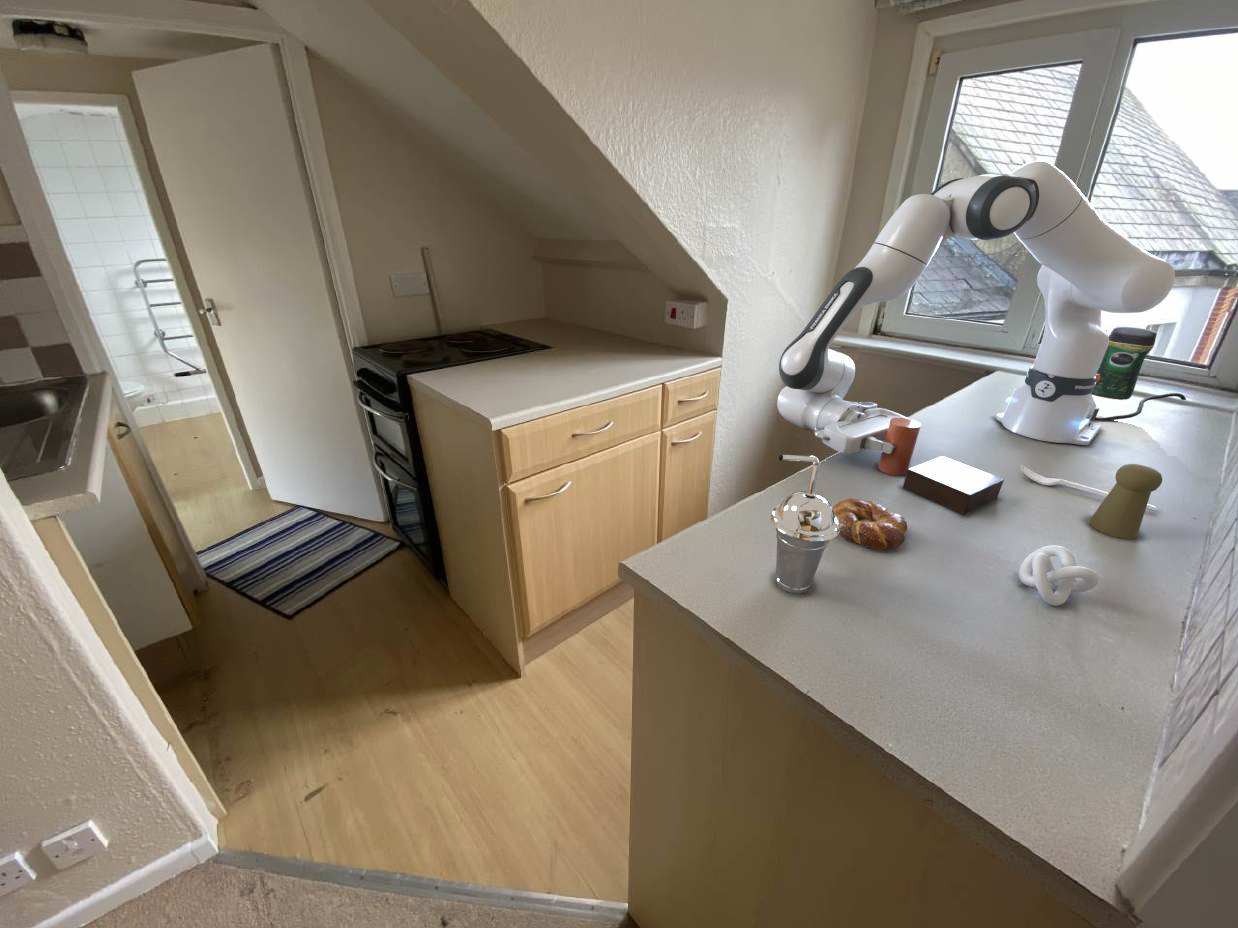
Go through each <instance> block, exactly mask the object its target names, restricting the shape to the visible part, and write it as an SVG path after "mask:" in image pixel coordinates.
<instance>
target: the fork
mask: <svg viewBox="0 0 1238 928" xmlns="http://www.w3.org/2000/svg"><path fill="white" fill-rule="evenodd" d="M1018 469H1019V470H1020V471H1021V472H1022V473H1023V474H1024V475H1025V476H1026V477H1028V478H1029V479H1031V480H1032V481H1034V482H1035V483H1038V484H1040V485H1043V486H1054V485H1063V486H1067V487H1070V488H1074V489H1077V490H1081V491H1085V492H1089V493H1092V494H1094V495H1095V494H1096V495H1098V496H1102V497H1105V498H1106V497H1107V495H1108V494H1109V493H1110V492H1108V491H1104V490H1101V489H1098V488H1095V487H1091V486H1087V485H1084V484H1080V483H1077V482H1073V481H1070V480H1066V479H1063V478H1055V477H1047V476H1044V475H1041V474H1038V473H1036V472H1034V471H1032V469H1031V470H1030V469H1029V468H1028V467H1026V466H1025V465H1023V464H1022V463H1020V465H1019V467H1018ZM1146 509H1150V510H1153V511H1157V506H1156V505H1152V504H1149V503H1148V504H1147V507H1146Z"/></svg>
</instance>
